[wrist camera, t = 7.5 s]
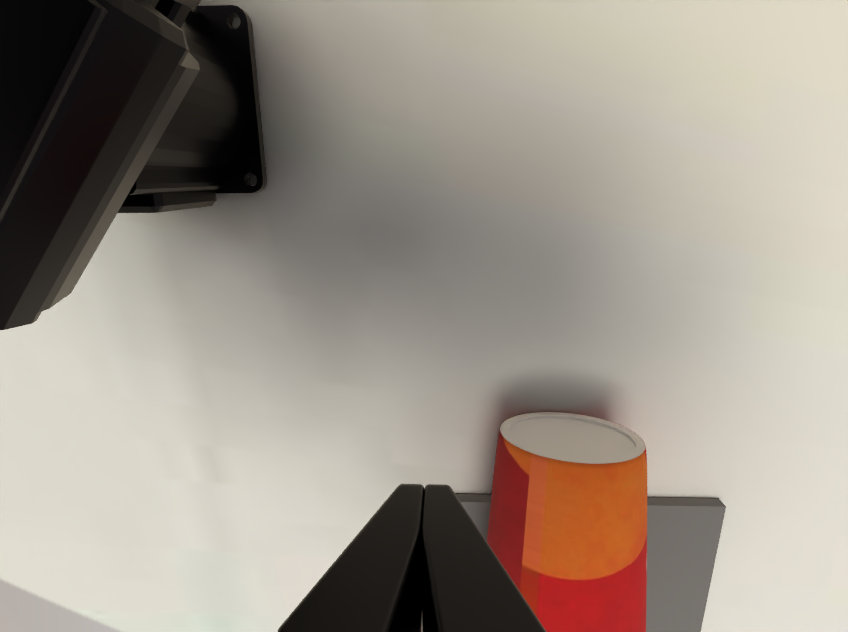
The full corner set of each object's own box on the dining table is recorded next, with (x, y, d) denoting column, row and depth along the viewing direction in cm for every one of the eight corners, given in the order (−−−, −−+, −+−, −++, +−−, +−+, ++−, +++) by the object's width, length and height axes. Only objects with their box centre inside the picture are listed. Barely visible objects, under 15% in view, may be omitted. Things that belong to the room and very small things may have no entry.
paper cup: (537, 395, 24) (525, 644, 26) (433, 431, 19) (426, 743, 21) (710, 437, 19) (681, 750, 20) (632, 506, 13) (601, 923, 15)
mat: (404, 493, 23) (403, 500, 23) (718, 498, 23) (725, 507, 22) (408, 689, 27) (408, 700, 26) (679, 698, 26) (684, 709, 26)
